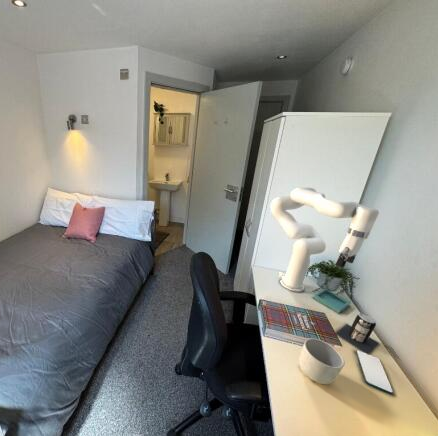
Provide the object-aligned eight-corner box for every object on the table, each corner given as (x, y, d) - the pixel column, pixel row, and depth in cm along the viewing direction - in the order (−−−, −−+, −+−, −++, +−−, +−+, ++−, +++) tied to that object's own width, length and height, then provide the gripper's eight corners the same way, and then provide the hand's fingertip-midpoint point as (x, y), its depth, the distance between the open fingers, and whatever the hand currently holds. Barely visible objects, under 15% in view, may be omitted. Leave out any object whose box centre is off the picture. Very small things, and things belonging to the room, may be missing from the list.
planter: (314, 355, 96) (323, 336, 92) (342, 386, 85) (353, 366, 81) (289, 358, 94) (296, 339, 90) (313, 390, 83) (323, 370, 79)
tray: (313, 298, 131) (314, 294, 130) (324, 291, 137) (325, 288, 136) (338, 313, 121) (340, 309, 120) (349, 305, 127) (350, 302, 126)
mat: (335, 333, 108) (335, 332, 108) (346, 324, 114) (347, 323, 114) (367, 354, 98) (368, 353, 98) (378, 343, 104) (378, 342, 104)
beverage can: (358, 332, 109) (369, 313, 104) (369, 344, 103) (381, 324, 98) (344, 331, 109) (354, 311, 105) (354, 342, 103) (365, 322, 99)
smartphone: (393, 395, 83) (378, 359, 96) (394, 393, 83) (379, 358, 96) (365, 383, 87) (354, 350, 100) (366, 381, 86) (355, 349, 99)
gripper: (355, 227, 114) (343, 256, 120) (339, 232, 106) (327, 264, 112) (375, 233, 108) (360, 263, 114) (360, 239, 100) (345, 272, 106)
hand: (344, 264), depth 113 cm, fingers open, 9 cm apart
